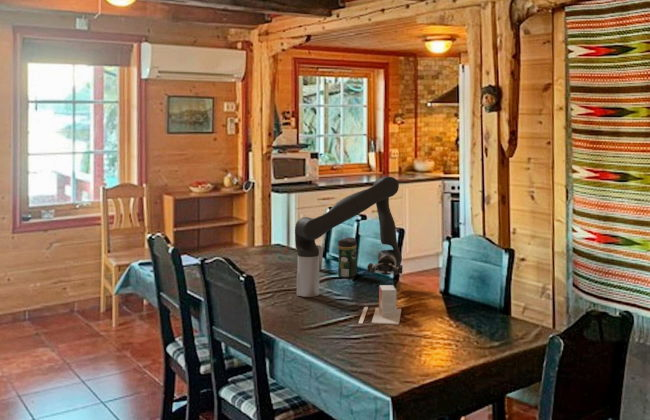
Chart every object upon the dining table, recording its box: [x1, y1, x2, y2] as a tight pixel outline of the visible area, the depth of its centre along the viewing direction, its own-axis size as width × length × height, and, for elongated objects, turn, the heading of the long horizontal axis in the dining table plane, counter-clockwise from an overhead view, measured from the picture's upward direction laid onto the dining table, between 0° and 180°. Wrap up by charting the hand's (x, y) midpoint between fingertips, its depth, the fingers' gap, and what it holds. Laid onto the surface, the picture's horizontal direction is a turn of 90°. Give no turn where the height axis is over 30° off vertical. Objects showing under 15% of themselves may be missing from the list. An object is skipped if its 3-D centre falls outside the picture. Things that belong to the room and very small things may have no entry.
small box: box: [378, 284, 398, 317], centre depth 260 cm, size 8×6×10 cm
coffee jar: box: [337, 237, 358, 279], centre depth 327 cm, size 10×8×19 cm
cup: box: [316, 244, 325, 271], centre depth 341 cm, size 7×7×12 cm
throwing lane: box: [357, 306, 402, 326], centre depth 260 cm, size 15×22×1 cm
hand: (383, 271), depth 272 cm, fingers open, 8 cm apart
